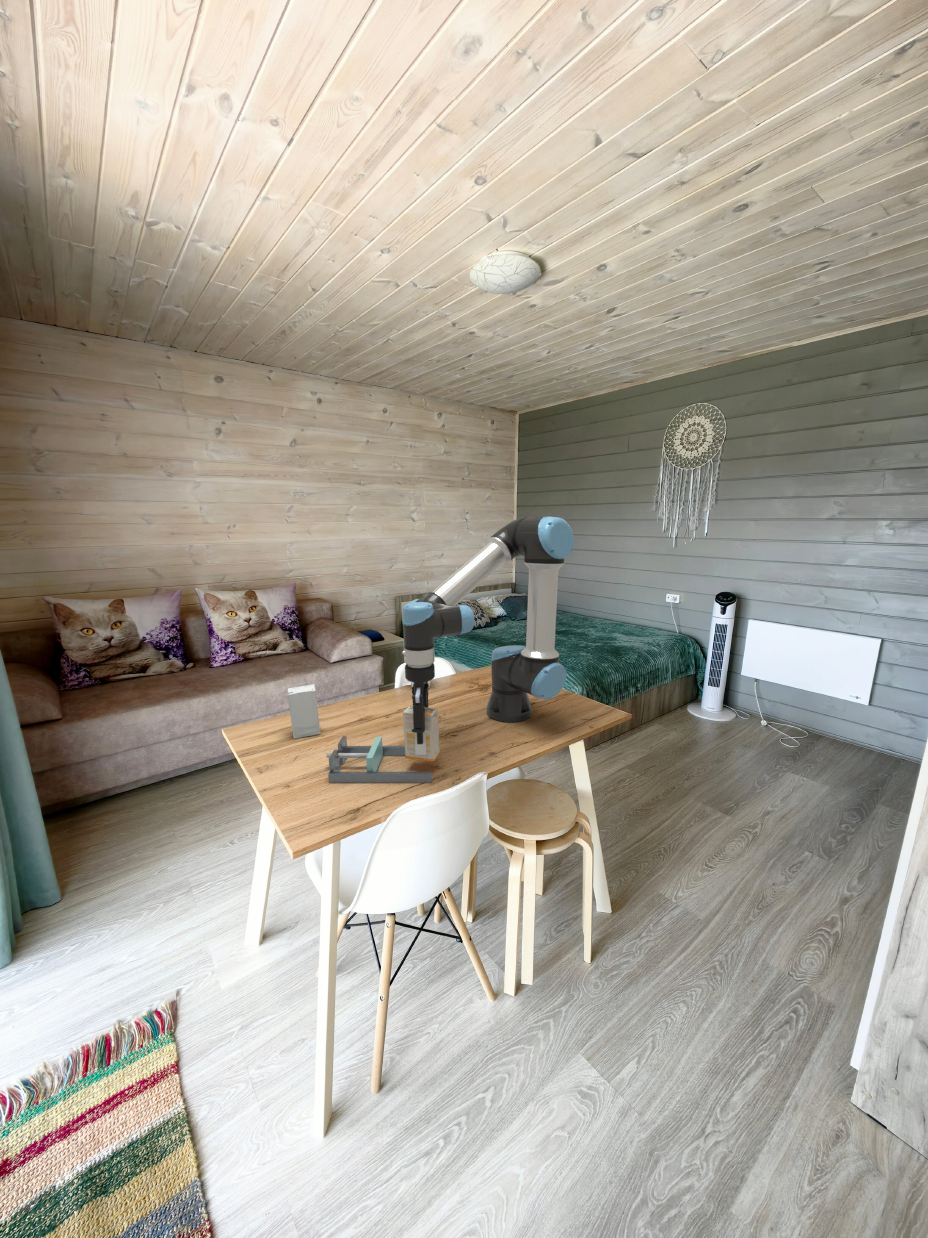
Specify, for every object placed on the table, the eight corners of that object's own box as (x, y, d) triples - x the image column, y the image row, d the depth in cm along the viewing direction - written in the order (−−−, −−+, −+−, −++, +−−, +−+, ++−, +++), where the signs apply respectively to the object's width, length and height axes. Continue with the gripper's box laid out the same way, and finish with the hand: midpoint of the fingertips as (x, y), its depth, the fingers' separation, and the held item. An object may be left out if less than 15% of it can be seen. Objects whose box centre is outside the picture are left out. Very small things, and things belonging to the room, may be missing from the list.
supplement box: (440, 754, 128) (439, 708, 125) (433, 762, 123) (432, 715, 120) (411, 750, 130) (410, 704, 127) (404, 758, 126) (402, 711, 123)
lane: (437, 754, 134) (436, 734, 133) (432, 782, 120) (431, 760, 119) (345, 754, 135) (343, 734, 134) (329, 782, 121) (327, 760, 119)
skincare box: (319, 727, 153) (315, 683, 150) (320, 735, 148) (316, 689, 145) (291, 731, 150) (287, 686, 147) (292, 739, 145) (287, 693, 142)
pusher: (382, 755, 133) (381, 736, 132) (373, 778, 122) (372, 758, 120) (334, 755, 134) (333, 736, 133) (320, 778, 122) (318, 758, 121)
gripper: (410, 653, 131) (413, 732, 135) (398, 675, 112) (402, 766, 117) (437, 653, 130) (439, 732, 135) (430, 675, 112) (433, 766, 117)
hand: (422, 748), depth 126 cm, fingers closed on supplement box, 6 cm apart
